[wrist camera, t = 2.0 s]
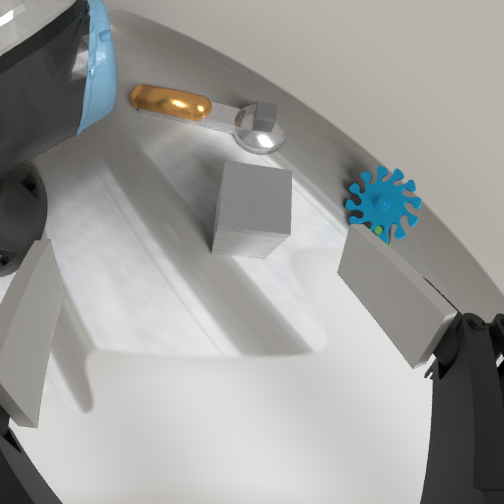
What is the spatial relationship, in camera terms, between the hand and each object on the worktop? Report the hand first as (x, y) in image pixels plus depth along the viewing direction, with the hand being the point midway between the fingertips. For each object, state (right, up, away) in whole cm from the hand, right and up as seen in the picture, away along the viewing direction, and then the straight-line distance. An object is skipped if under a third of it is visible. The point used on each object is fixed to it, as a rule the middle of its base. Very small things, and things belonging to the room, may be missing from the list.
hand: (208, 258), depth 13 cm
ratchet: (-4, +18, +25) cm, 31 cm away
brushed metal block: (0, +3, +23) cm, 23 cm away
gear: (+17, +5, +27) cm, 32 cm away
